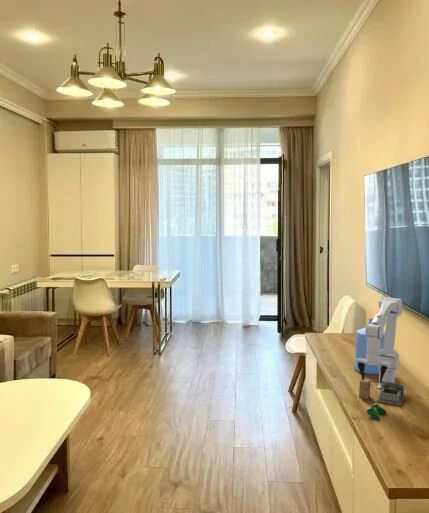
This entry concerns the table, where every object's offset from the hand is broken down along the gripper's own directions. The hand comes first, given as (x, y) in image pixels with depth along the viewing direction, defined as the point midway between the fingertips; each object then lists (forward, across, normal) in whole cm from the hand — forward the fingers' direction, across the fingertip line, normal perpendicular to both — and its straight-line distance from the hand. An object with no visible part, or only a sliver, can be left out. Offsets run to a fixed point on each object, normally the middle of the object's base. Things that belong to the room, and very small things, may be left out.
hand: (371, 381), depth 225 cm
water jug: (+10, -8, +47) cm, 48 cm away
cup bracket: (+10, +7, +6) cm, 14 cm away
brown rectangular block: (+10, -4, +4) cm, 11 cm away
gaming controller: (+10, +4, -15) cm, 18 cm away
